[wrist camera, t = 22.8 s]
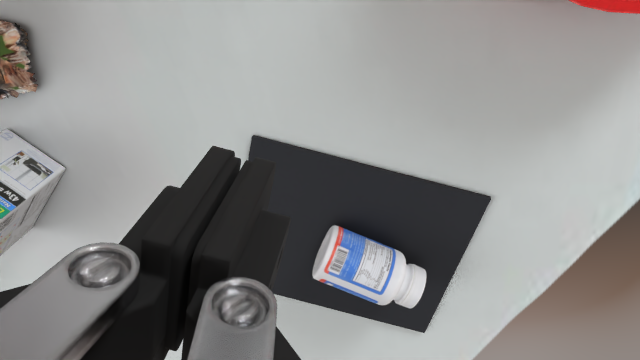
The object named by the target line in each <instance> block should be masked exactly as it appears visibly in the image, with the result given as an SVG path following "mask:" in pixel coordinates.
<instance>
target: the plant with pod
mask: <svg viewBox="0 0 640 360" xmlns="http://www.w3.org/2000/svg"><path fill="white" fill-rule="evenodd" d="M27 35H28V34H27V33H26V32H25V31H24V30H23V29H22V28H20V26H18V25H17V24H16V23H15V24H13V23H10V22H5V21H3V20H0V99H3V98H5V96H6V97H8V96H9V95H11V96H14V97H16V98H17V97H18V95H19V93H20V92H21V93H23V94H25V90H26V91H27V92H28V93H29V92H30V91H34V92H36V89H37V86H38V84H33V83H34V82H36V81H37V80H36V79H35V78H34V77H32V76H33V75H34V74H35V73H31V72H26V71H27V70H28V69H29V68H31V67H32V66H29V65H25V64H27V63H29V62H30V60H29V59H28V57H27V56H26V55H31V54H30V53H29V52H28V51H27V50H28V47H26V46H25V45H26V44H27V43H25V42H26V41H28V40H27V38H26V36H27ZM2 97H3V98H2Z"/></svg>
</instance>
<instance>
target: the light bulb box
mask: <svg viewBox="0 0 640 360" xmlns="http://www.w3.org/2000/svg"><path fill="white" fill-rule="evenodd" d="M64 171H65V167H63V166H62V165H60V164H59V163H57V162H56V161H54V160H53V159H51V158H50V157H48V156H47V155H45V154H44V153H42V152H41V151H39V150H38V149H37V148H35V147H34V146H32V145H31V144H29V143H28V142H26V141H25V140H23V139H22V138H20V137H19V136H17V135H16V134H14V133H13V132H11V131H10V130H8V129H5V130H3V131H2V132H0V256H1V255H2V254H3V253H4V252H5V251H6V250H8V249H9V248H10V247H11V246H12V245H13V244H14V243H15V242H17V241H18V240H19V239H20V238H21V237H22V236H23V235H25V234H26V233H27V232H28V231H29V230H30V229H31V228H32V227H33V225H34V223H35V222H36V220H37V218H38V216H39V215H40V213H41V211H42V209H43V207H44V206H45V204H46V202H47V201H48V199H49V197H50V195H51V194H52V192H53V190H54V188H55V187H56V185H57V183H58V181H59V180H60V178H61V176H62V174H63V173H64Z"/></svg>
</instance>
